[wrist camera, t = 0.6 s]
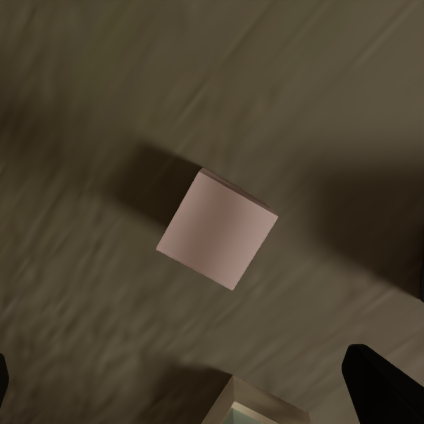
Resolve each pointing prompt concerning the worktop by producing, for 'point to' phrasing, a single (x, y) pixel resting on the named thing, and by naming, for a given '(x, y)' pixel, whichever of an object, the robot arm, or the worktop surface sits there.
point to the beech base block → (253, 405)
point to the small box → (422, 286)
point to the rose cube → (217, 229)
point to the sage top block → (239, 418)
